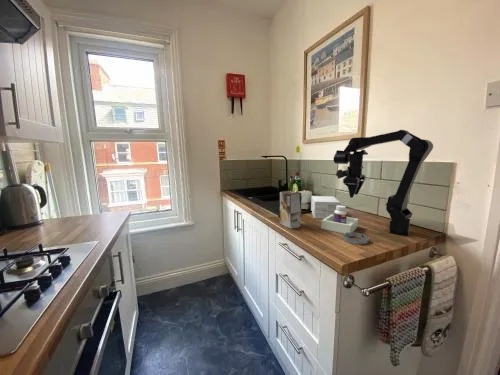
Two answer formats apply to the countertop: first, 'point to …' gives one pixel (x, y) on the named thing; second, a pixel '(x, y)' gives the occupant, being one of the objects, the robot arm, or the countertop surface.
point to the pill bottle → (340, 214)
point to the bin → (339, 225)
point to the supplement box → (323, 206)
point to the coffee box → (290, 209)
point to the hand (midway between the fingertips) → (353, 196)
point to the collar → (355, 241)
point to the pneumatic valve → (305, 198)
